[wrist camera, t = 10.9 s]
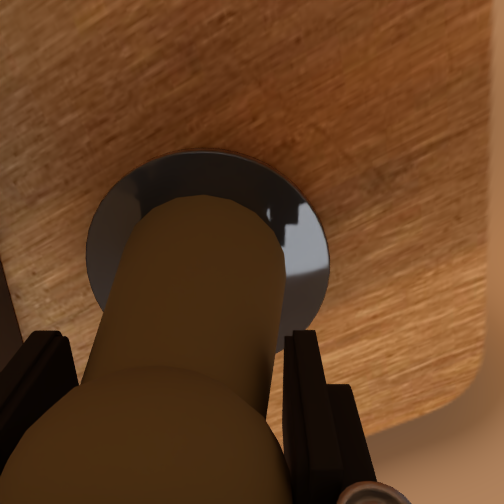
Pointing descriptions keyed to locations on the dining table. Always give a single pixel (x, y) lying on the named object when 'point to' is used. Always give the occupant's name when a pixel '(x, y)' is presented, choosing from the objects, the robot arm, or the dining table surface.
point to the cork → (171, 374)
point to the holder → (7, 325)
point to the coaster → (228, 187)
